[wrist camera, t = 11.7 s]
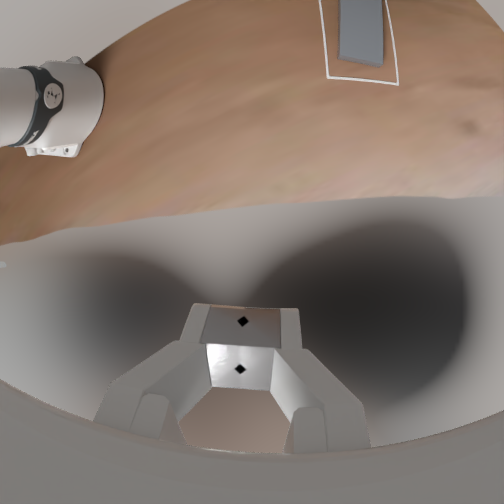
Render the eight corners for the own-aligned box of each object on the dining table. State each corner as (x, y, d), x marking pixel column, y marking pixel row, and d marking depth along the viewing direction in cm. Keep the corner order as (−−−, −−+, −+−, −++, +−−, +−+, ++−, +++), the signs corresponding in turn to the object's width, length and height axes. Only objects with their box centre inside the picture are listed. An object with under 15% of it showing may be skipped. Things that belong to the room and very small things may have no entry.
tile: (339, 55, 29) (340, -22, 24) (336, 59, 31) (337, -15, 26) (383, 64, 29) (380, -13, 23) (377, 68, 31) (376, -7, 25)
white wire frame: (327, 78, 32) (315, -22, 26) (326, 79, 33) (314, -21, 26) (399, 85, 31) (383, -14, 24) (397, 86, 32) (382, -13, 25)
